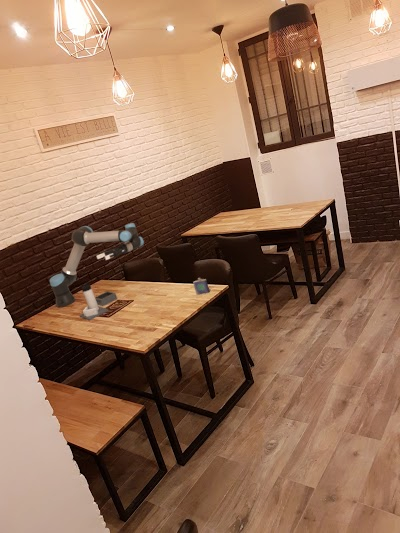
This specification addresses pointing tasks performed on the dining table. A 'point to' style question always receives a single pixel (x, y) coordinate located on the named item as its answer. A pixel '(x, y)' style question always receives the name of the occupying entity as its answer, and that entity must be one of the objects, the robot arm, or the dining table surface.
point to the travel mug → (89, 297)
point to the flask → (201, 286)
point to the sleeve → (106, 298)
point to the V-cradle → (92, 312)
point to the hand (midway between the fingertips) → (101, 257)
